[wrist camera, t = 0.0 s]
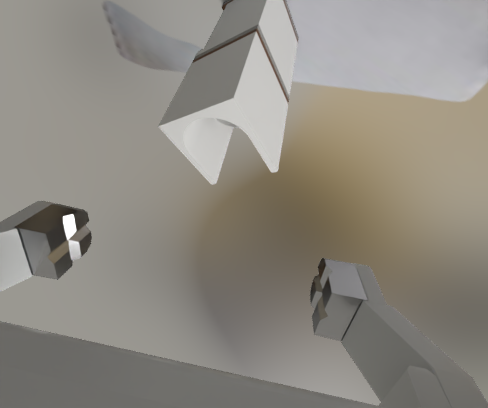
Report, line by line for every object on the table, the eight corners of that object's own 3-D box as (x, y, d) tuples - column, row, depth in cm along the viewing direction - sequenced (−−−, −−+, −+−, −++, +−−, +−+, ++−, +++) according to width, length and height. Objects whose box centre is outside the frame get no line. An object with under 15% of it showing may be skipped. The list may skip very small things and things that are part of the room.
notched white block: (224, 2, 51) (158, 126, 32) (276, -29, 45) (233, 98, 27) (251, 58, 58) (211, 184, 40) (298, 37, 53) (277, 171, 34)
